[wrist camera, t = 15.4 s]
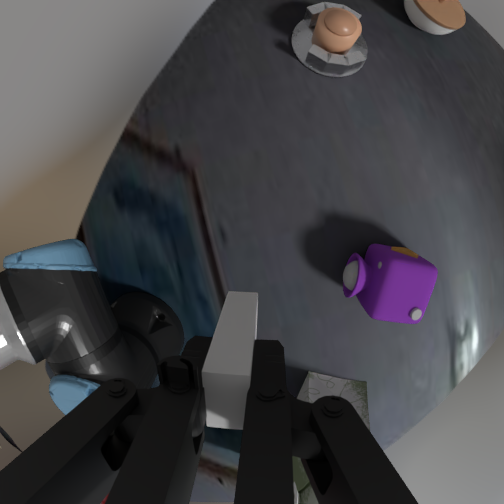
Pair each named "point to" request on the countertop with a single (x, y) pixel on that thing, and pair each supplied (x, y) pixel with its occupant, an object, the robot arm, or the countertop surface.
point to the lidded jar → (435, 15)
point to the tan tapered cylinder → (336, 30)
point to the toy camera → (390, 283)
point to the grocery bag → (310, 392)
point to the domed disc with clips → (319, 57)
